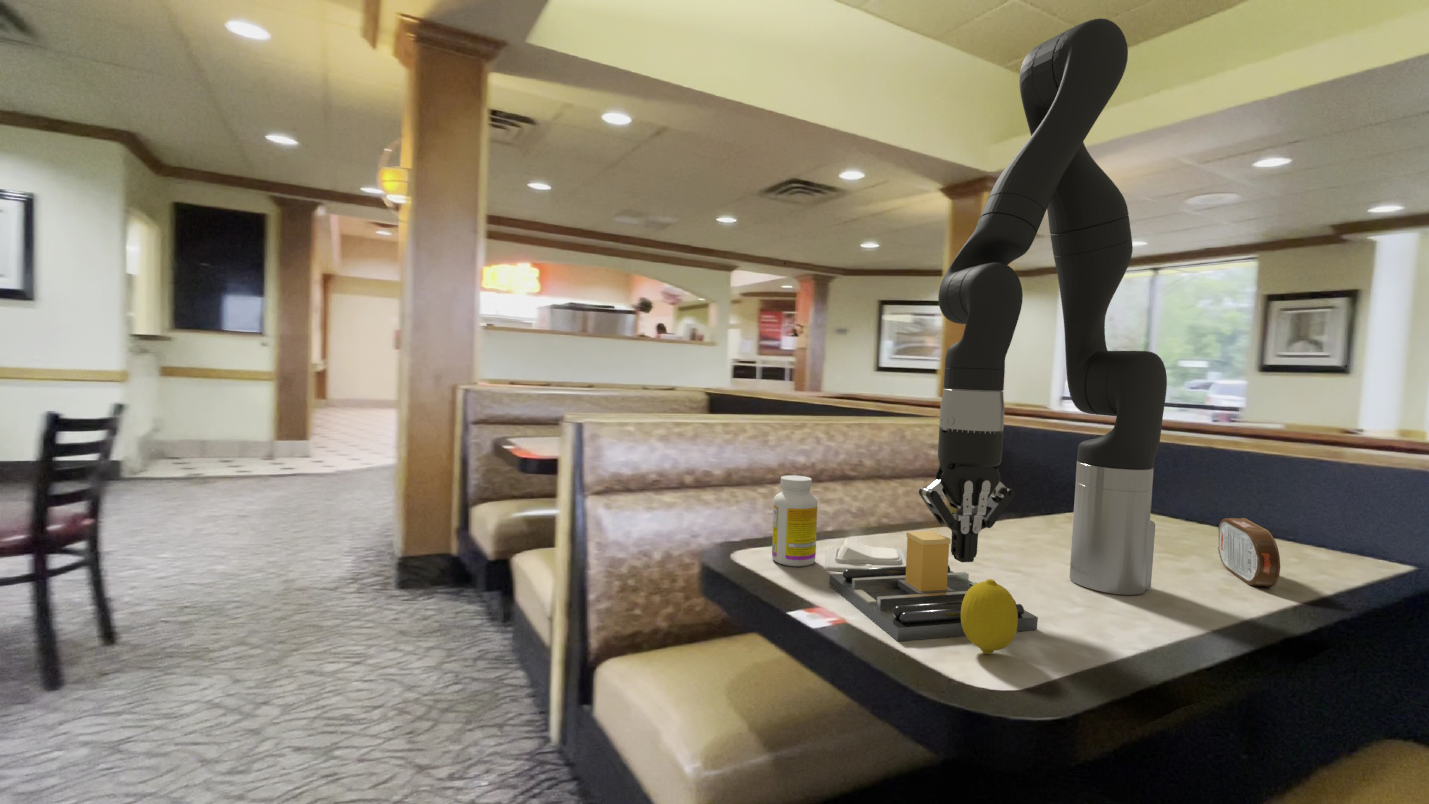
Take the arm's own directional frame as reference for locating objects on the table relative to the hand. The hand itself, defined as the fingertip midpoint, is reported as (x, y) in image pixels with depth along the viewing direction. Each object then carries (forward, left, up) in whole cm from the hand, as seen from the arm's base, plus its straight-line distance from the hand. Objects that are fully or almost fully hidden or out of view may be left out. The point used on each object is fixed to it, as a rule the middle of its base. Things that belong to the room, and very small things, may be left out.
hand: (963, 560), depth 81 cm
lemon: (+6, +13, -6) cm, 16 cm away
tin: (-51, -3, -6) cm, 51 cm away
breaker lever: (+5, 0, -4) cm, 6 cm away
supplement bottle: (+15, -20, -6) cm, 26 cm away
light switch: (+4, -18, -7) cm, 19 cm away
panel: (+5, 0, -6) cm, 8 cm away
